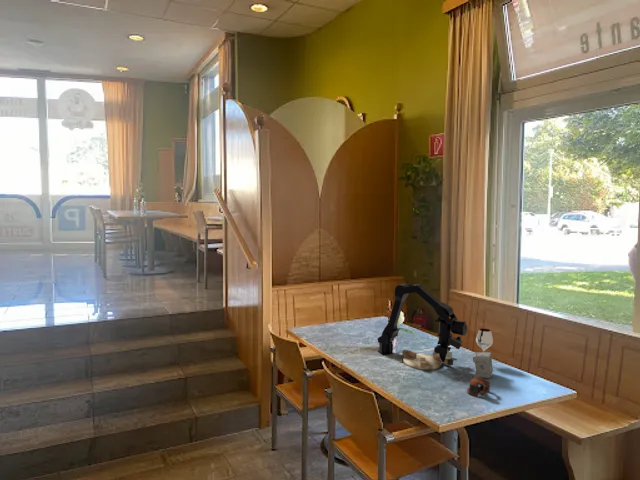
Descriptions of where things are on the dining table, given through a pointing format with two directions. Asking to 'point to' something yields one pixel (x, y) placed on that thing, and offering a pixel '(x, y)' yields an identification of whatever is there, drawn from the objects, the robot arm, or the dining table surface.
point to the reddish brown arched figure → (477, 390)
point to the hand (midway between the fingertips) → (443, 362)
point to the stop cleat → (449, 354)
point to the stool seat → (420, 360)
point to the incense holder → (483, 364)
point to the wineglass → (484, 338)
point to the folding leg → (447, 360)
